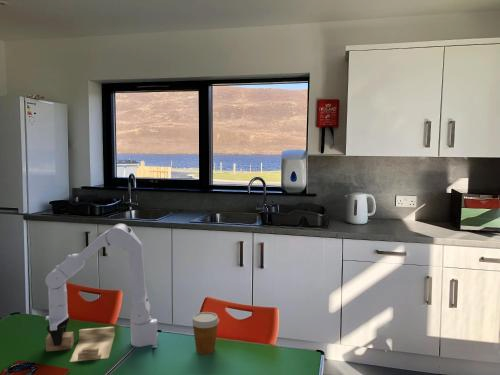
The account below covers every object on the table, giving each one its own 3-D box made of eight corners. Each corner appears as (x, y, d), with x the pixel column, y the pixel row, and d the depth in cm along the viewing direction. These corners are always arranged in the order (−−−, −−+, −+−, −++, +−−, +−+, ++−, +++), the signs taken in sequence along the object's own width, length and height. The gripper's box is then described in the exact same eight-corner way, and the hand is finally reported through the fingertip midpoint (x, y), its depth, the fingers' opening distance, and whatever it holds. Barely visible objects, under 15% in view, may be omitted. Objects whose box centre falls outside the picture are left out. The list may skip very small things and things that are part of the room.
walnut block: (73, 345, 141) (73, 331, 141) (71, 350, 137) (70, 336, 137) (49, 347, 140) (48, 333, 139) (46, 353, 136) (45, 338, 135)
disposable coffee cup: (186, 353, 137) (185, 319, 136) (201, 341, 145) (201, 309, 144) (209, 359, 132) (209, 324, 131) (224, 347, 141) (224, 314, 140)
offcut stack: (101, 355, 133) (101, 345, 133) (100, 358, 131) (100, 348, 131) (79, 357, 131) (78, 348, 131) (77, 360, 130) (77, 350, 129)
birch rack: (114, 338, 148) (114, 326, 147) (108, 360, 131) (108, 347, 131) (79, 341, 145) (79, 329, 145) (69, 364, 129) (69, 351, 129)
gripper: (51, 297, 143) (52, 333, 144) (39, 312, 129) (40, 353, 130) (72, 295, 145) (73, 331, 146) (62, 311, 131) (63, 350, 132)
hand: (59, 341), depth 138 cm, fingers open, 4 cm apart
